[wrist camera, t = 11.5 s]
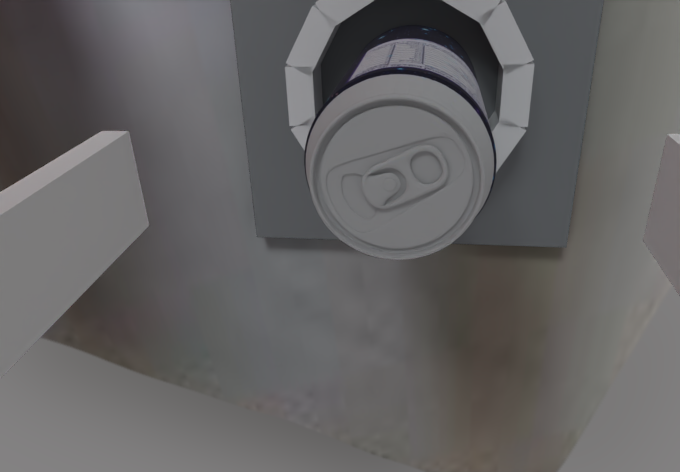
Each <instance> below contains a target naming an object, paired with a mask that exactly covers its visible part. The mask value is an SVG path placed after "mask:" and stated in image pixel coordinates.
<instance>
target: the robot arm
mask: <svg viewBox="0 0 680 472" xmlns="http://www.w3.org/2000/svg"><path fill="white" fill-rule="evenodd" d="M148 226H149V222H148V217H147V212H146V208H145V203H144V198H143V194H142V189H141V184H140V180H139V175H138V171H137V166H136V161H135V157H134V152H133V147H132V143H131V138H130V133H129V131H101V132H99V133H98V134H96V135H94V136H93V137H91V138H89V139H88V140H86V141H84V142H83V143H81V144H79V145H78V146H76V147H74V148H73V149H71V150H69V151H68V152H66V153H64V154H63V155H61V156H59V157H58V158H56V159H54V160H53V161H51V162H49V163H48V164H46V165H44V166H43V167H41V168H39V169H38V170H36V171H34V172H33V173H31V174H29V175H28V176H26V177H24V178H23V179H21V180H20V181H18V182H16V183H15V184H13V185H11V186H10V187H8V188H6V189H5V190H3V191H1V192H0V379H1V378H2V377H3V376H4V375H5V373H6V372H7V371H8V370H9V369H10V368H11V367H12V366H13V365H14V364H15V363H16V362H17V361H18V360H19V359H20V358H21V357H22V356H23V355H24V354H25V353H26V352H27V351H28V350H29V349H30V348H31V347H32V346H33V345H34V344H35V343H36V342H37V340H39V339H40V337H41V336H42V335H43V334H44V333H45V332H46V331H47V330H48V329H49V328H50V327H51V326H52V325H53V324H54V323H55V322H56V321H57V320H58V319H59V318H60V317H61V316H62V315H63V314H64V313H65V312H66V311H67V310H68V309H69V308H70V307H71V306H72V305H73V304H74V302H75V301H76V300H77V299H78V298H79V297H80V296H81V295H82V294H83V293H84V292H85V291H86V290H87V289H88V288H89V287H90V286H91V285H92V284H93V283H94V282H95V281H96V280H97V279H98V278H99V277H100V276H101V275H102V274H103V273H104V272H105V271H106V270H107V269H108V267H109V266H110V265H111V264H112V263H113V262H114V261H115V260H116V259H117V258H118V257H119V256H120V255H121V254H122V253H123V252H124V251H125V250H126V249H127V248H128V247H129V246H130V245H131V244H132V243H133V242H134V241H135V240H136V239H137V238H138V237H139V236H140V235H141V234H142V232H143V231H144V230H145V229H146V228H147V227H148ZM643 241H644V243H645V244H646V246H647V247H648V249H649V250H650V252H651V253H652V255H653V256H654V258H655V259H656V261H657V262H658V264H659V265H660V267H661V268H662V270H663V271H664V273H665V274H666V276H667V278H668V279H669V281H670V282H671V284H672V285H673V287H674V288H675V290H676V291H677V293H678V294H679V296H680V134H667V137H666V141H665V146H664V150H663V154H662V159H661V163H660V168H659V172H658V176H657V181H656V185H655V190H654V194H653V199H652V203H651V207H650V212H649V216H648V221H647V225H646V229H645V234H644V238H643Z"/></svg>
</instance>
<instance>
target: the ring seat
mask: <svg viewBox="0 0 680 472" xmlns="http://www.w3.org/2000/svg"><path fill="white" fill-rule="evenodd" d="M603 2H604V0H230V3H231V12H232V21H233V30H234V38H235V47H236V56H237V65H238V74H239V83H240V92H241V101H242V109H243V118H244V127H245V136H246V145H247V154H248V163H249V172H250V181H251V189H252V198H253V207H254V216H255V225H256V234H257V237H273V238H302V239H332V240H340V239H339V238H338V237H336V236H335V235H334V234H333V233H332V232H331V231H330V229H329V228H328V227H327V226H326V225H325V223H324V222H323V220H322V219H321V217H320V216H319V214H318V212H317V210H316V207H315V205H314V203H313V200H312V196H311V193H310V190H309V187H308V184H307V180H306V175H305V167H304V152H305V145H306V140H307V136H308V133H309V130H310V128H311V125H312V123H313V121H314V119H315V117H316V115H317V114H318V112H319V111H320V109H321V108H322V106H323V105H324V104H325V102H326V101H327V99H328V98H329V97H330V95H331V94H332V92H333V91H334V90H335V88H336V87H337V85H338V84H339V82H340V81H341V80H342V78H343V77H344V75H345V74H346V73H347V71H348V70H349V68H350V67H351V66H352V64H353V63H354V61H355V60H356V58H357V57H358V56H359V54H360V53H361V52H362V50H363V49H364V48H365V47H366V46H367V45H368V44H369V43H370V42H371V41H372V40H373V39H374V38H376V37H377V36H379V35H380V34H382V33H384V32H386V31H388V30H390V29H393V28H396V27H400V26H406V25H422V26H428V27H432V28H435V29H438V30H440V31H442V32H444V33H446V34H448V35H449V36H451V37H452V38H453V39H454V40H456V41H457V42H458V43H459V44H460V45H461V46H462V48H463V49H464V50H465V51H466V53H467V54H468V56H469V58H470V60H471V62H472V64H473V67H474V70H475V74H476V77H477V81H478V85H479V88H480V92H481V95H482V99H483V103H484V106H485V110H486V113H487V117H488V121H489V124H490V128H491V131H492V135H493V139H494V143H495V148H496V159H497V164H496V175H495V180H494V184H493V187H492V191H491V193H490V196H489V198H488V200H487V202H486V204H485V205H484V207H483V209H482V210H481V212H480V213H479V214H478V216H477V217H476V218H475V219H474V220H473V222H472V223H471V224H470V226H469V227H468V228H467V229H466V230H465V232H464V233H463V234H462V235H461V236H460V237H459V238H457V239H456V240H455V241H454V242H453V243H451V244H478V245H507V246H537V247H566V246H567V240H568V233H569V227H570V220H571V213H572V207H573V200H574V194H575V187H576V180H577V174H578V167H579V160H580V154H581V147H582V141H583V134H584V127H585V121H586V114H587V108H588V101H589V94H590V88H591V81H592V75H593V68H594V61H595V55H596V48H597V42H598V35H599V28H600V22H601V15H602V9H603Z"/></svg>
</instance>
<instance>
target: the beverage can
mask: <svg viewBox="0 0 680 472" xmlns="http://www.w3.org/2000/svg"><path fill="white" fill-rule="evenodd" d="M496 164H497V159H496V148H495V143H494V139H493V135H492V131H491V128H490V124H489V121H488V117H487V113H486V110H485V106H484V103H483V99H482V95H481V92H480V88H479V85H478V81H477V77H476V74H475V70H474V67H473V64H472V62H471V60H470V58H469V56H468V54H467V53H466V51H465V50H464V49H463V48H462V46H461V45H460V44H459V43H458V42H457V41H456V40H454V39H453V38H452V37H451V36H449V35H448V34H446V33H444V32H442V31H440V30H438V29H435V28H432V27H428V26H422V25H406V26H400V27H396V28H393V29H390V30H388V31H386V32H384V33H382V34H380V35H379V36H377V37H376V38H374V39H373V40H372V41H371V42H370V43H369V44H368V45H367V46H366V47H365V48H364V49H363V50H362V52H361V53H360V54H359V56H358V57H357V58H356V60H355V61H354V63H353V64H352V66H351V67H350V68H349V70H348V71H347V73H346V74H345V75H344V77H343V78H342V80H341V81H340V82H339V84H338V85H337V87H336V88H335V90H334V91H333V92H332V94H331V95H330V97H329V98H328V99H327V101H326V102H325V104H324V105H323V106H322V108H321V109H320V111H319V112H318V114H317V115H316V117H315V119H314V121H313V123H312V125H311V128H310V130H309V133H308V136H307V140H306V145H305V152H304V167H305V175H306V180H307V184H308V187H309V190H310V193H311V196H312V200H313V203H314V205H315V207H316V210H317V212H318V214H319V216H320V217H321V219H322V220H323V222H324V223H325V225H326V226H327V227H328V228H329V229H330V231H331V232H332V233H333V234H334V235H335V236H336V237H338V238H339V239H340V240H341V241H342V242H344V243H345V244H347V245H348V246H350V247H351V248H353V249H355V250H357V251H359V252H362V253H364V254H366V255H370V256H373V257H376V258H382V259H388V260H408V259H416V258H420V257H424V256H427V255H430V254H433V253H435V252H437V251H440V250H442V249H443V248H445V247H446V246H448V245H450V244H451V243H453V242H454V241H455V240H456V239H457V238H459V237H460V236H461V235H462V234H463V233H464V232H465V230H466V229H467V228H468V227H469V226H470V224H471V223H472V222H473V220H474V219H475V218H476V217H477V216H478V214H479V213H480V212H481V210H482V209H483V207H484V205H485V204H486V202H487V200H488V198H489V196H490V193H491V191H492V187H493V184H494V180H495V175H496Z"/></svg>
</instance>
